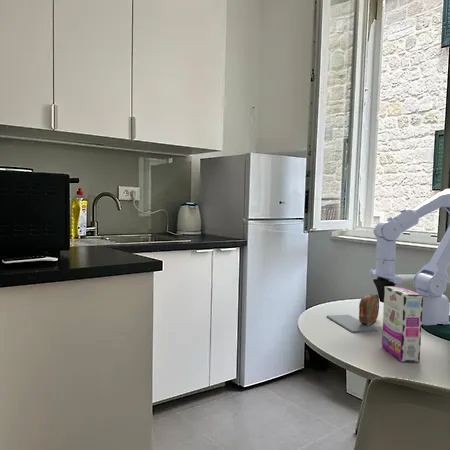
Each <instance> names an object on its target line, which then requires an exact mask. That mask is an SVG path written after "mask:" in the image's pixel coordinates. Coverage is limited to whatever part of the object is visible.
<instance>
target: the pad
mask: <svg viewBox="0 0 450 450" xmlns="http://www.w3.org/2000/svg"><path fill="white" fill-rule="evenodd" d="M326 318H327V319H329V320H331V321H332V322H334V323H335V324H337V325H339V326H341V327H342V328H344V329H345V330H348V331H349V332H350V333H356V334H357V333H370V332H371V333H372V332H378V329H377V328H375V327H374V326H372V325H368V324H362V323H360V321H359V318H356V317H354V316H352V315H351V314H331V315H329V314H327V315H326Z"/></svg>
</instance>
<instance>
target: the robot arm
mask: <svg viewBox="0 0 450 450" xmlns="http://www.w3.org/2000/svg"><path fill="white" fill-rule="evenodd" d="M440 208H444V209H445V210H446V211H447V212H448V214H449V215H450V188H445V189H444V190H443V191H440V192H437V193H436V194H435V195H433V196H432V197H430V198H429V199H427V200H426V201H424V202H423V203H421V204H419V205H418V206H417V207H415V208H402V209H400V210H399V213H396V214H395V215H393V216H389V217H387V218H386V219H387V220H386V221H385V220H384V221H383V220H382V221H379V222H378V223H377V224H376V226H375V228H374V229H373V234H374V236H375V237H376V245H375V246H376V249H375V269H369V276H370V277H375V278H376V279H375V278H373V279H372V280H373V281H372V282H373V284H374V286H375V288H376V292H377V295H378V297H379V303H383V304H384V290H385V288H384V287H388V286H396V285H397V284H399V285H400V284H402V276H399V275H397V274H396V273H395V272H396V249H397V248H396V247H397V240H398V238H399V237H400V236H401V234H402V233H404V232H406V231H407V230H409V229H411V228H413V227H414V226H416V225H418V223H419V220H420V218H422V217H425V216H426V215H427V216H428V214H430V213H433V212H434V211H436V210H438V209H440ZM449 267H450V225H449V226H448V227H447V229H446V231H445V233H444V235H443V237H442V238H441V240H440V243H439V244H438V246H437V248H436V250H435V251H434V253H433V255H432V257H431V258H430V261H429V262H428V263H426V264H424V265H423V266H422V267H421V268H420V270H419V271H418V272H417V273H415V275H414V276H413V278H412V283H413V284H412V285H413V287H414V288H415V290H416V291H415V292H416V293H418V294H421V295H423V309H422V325H423V326H438V325H437V324H443V325H450V300H449V298H448V297H447V295H445V294H444V293H446V290H447V283H448V281H449V278H450V276H449V274H448V271H447V270H448V268H449Z"/></svg>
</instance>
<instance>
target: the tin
mask: <svg viewBox="0 0 450 450" xmlns="http://www.w3.org/2000/svg"><path fill="white" fill-rule="evenodd" d="M358 305H359V307H358V308H359V309H358V310H359V311H358V313H359V314H358V320H359V321H360V323H362V324H367V325H369V326H371V325H372V324H373V323H374V322H376V321H377V319H378V316H379V311H380V310H379V309H380V300H379V296H378V294H372V293H371V294H367V295H365V296H363V297H362V298H361V299H360V301H359V303H358Z"/></svg>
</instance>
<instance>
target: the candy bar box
mask: <svg viewBox="0 0 450 450" xmlns="http://www.w3.org/2000/svg"><path fill="white" fill-rule="evenodd" d="M384 288H385V290H384V303H383V312H382V313H383V314H382V315H383V316H382V333H381V336H382V337H381V348H382V349H384V351H386V352H387V353H389V354H391V355H392V356H393V357H394V358H395V359H397V360H398V361H400V362H401V363H419V362H420V361H421V346H422V345H421V342H422V340H421V339H422V325H423V324H422V309H423V295H421V294H418V293H417V292H416V291H414V290H410V289H408V288H405V287H403V286H396V285H395V286H388V287H384Z"/></svg>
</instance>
